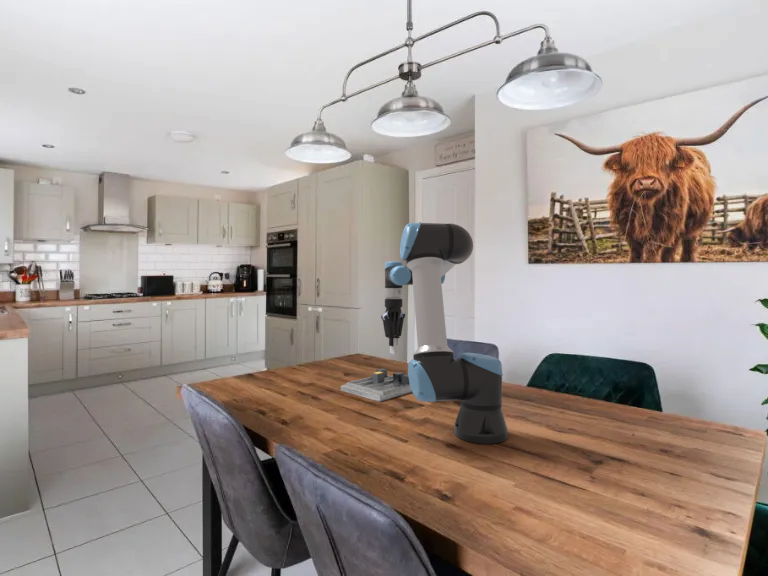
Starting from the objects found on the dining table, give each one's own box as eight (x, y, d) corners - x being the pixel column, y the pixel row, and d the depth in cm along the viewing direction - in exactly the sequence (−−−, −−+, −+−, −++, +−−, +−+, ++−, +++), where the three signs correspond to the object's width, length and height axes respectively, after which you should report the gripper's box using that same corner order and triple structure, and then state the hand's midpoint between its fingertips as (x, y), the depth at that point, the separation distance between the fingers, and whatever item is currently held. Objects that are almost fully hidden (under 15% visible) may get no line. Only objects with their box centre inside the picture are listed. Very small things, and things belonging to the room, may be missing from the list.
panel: (379, 401, 158) (379, 385, 158) (340, 390, 173) (340, 375, 173) (424, 388, 177) (424, 374, 177) (385, 379, 192) (385, 366, 192)
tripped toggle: (377, 384, 174) (377, 373, 174) (372, 383, 176) (372, 372, 176) (384, 382, 177) (384, 372, 177) (379, 381, 179) (379, 371, 179)
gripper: (389, 299, 175) (389, 356, 176) (410, 297, 184) (409, 352, 185) (376, 298, 180) (376, 354, 181) (397, 297, 190) (396, 350, 190)
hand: (393, 353), depth 183 cm, fingers closed
